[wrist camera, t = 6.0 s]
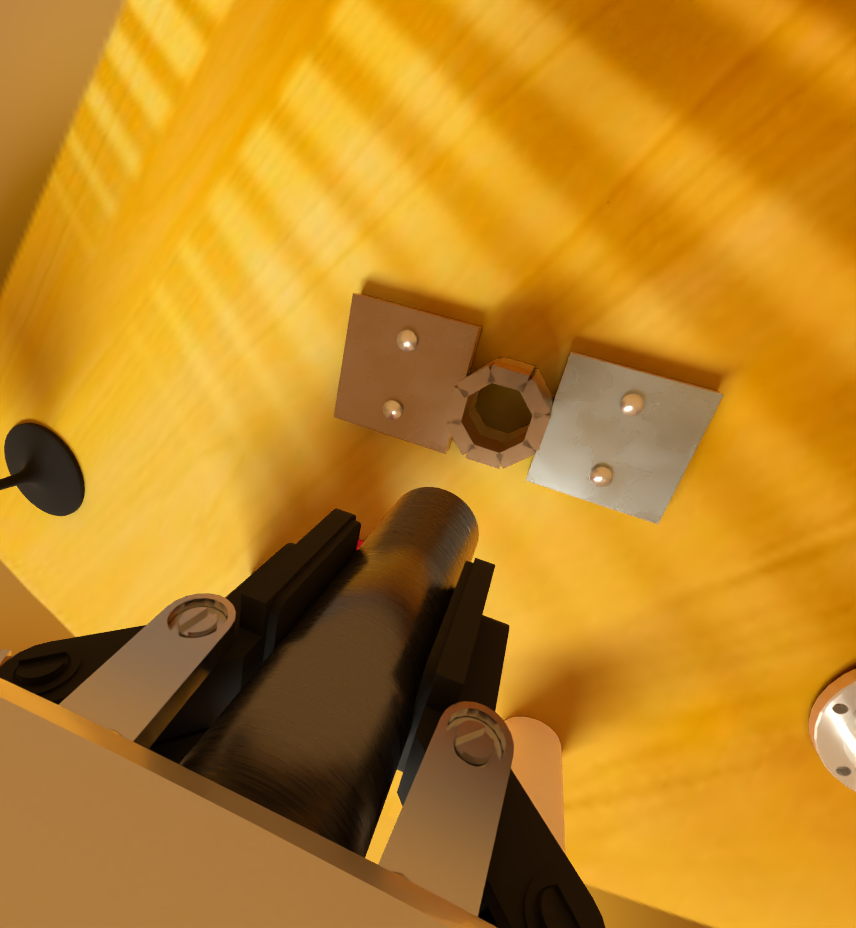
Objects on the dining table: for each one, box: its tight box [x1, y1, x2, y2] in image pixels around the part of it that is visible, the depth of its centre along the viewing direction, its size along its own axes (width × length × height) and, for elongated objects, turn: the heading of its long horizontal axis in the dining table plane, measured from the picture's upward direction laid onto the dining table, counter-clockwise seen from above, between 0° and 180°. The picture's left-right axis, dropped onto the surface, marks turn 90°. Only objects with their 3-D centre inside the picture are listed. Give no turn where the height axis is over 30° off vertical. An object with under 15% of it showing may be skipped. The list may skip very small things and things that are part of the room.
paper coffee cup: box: [504, 717, 565, 853], centre depth 36 cm, size 7×7×10 cm
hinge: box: [334, 293, 723, 524], centre depth 29 cm, size 24×9×5 cm, turn 77°
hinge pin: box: [179, 487, 479, 858], centre depth 10 cm, size 3×3×10 cm
